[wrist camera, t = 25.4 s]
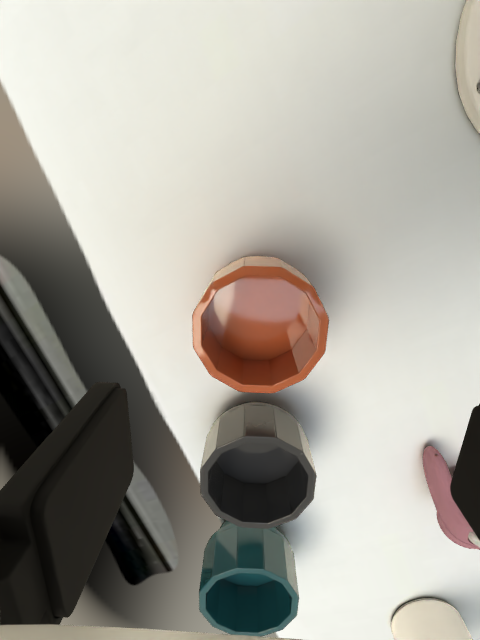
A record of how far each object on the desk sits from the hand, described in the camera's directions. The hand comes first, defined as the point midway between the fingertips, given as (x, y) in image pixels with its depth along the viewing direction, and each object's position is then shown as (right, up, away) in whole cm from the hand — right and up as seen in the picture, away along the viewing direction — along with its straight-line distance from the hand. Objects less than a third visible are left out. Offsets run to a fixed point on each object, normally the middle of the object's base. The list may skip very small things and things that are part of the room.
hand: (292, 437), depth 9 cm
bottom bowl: (0, -5, +17) cm, 18 cm away
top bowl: (-1, -16, +21) cm, 26 cm away
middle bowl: (0, +4, +14) cm, 15 cm away
